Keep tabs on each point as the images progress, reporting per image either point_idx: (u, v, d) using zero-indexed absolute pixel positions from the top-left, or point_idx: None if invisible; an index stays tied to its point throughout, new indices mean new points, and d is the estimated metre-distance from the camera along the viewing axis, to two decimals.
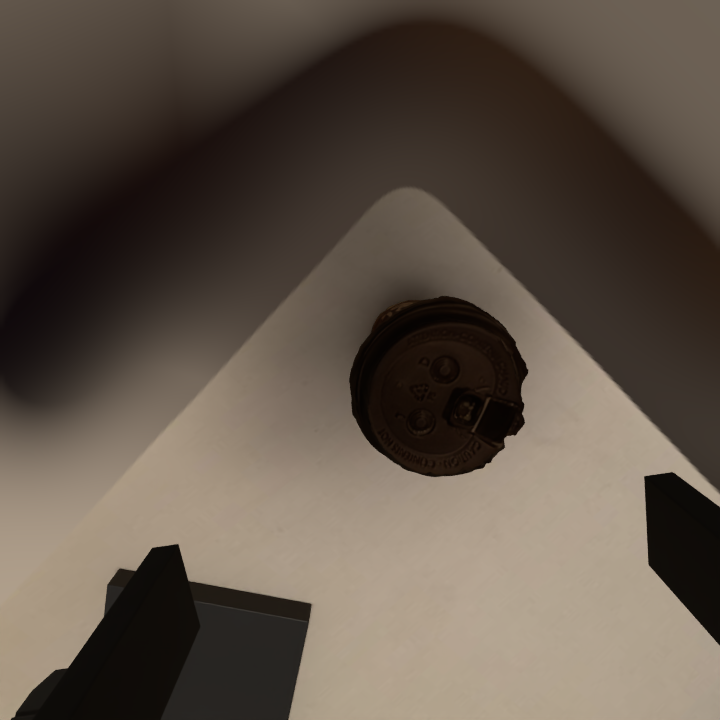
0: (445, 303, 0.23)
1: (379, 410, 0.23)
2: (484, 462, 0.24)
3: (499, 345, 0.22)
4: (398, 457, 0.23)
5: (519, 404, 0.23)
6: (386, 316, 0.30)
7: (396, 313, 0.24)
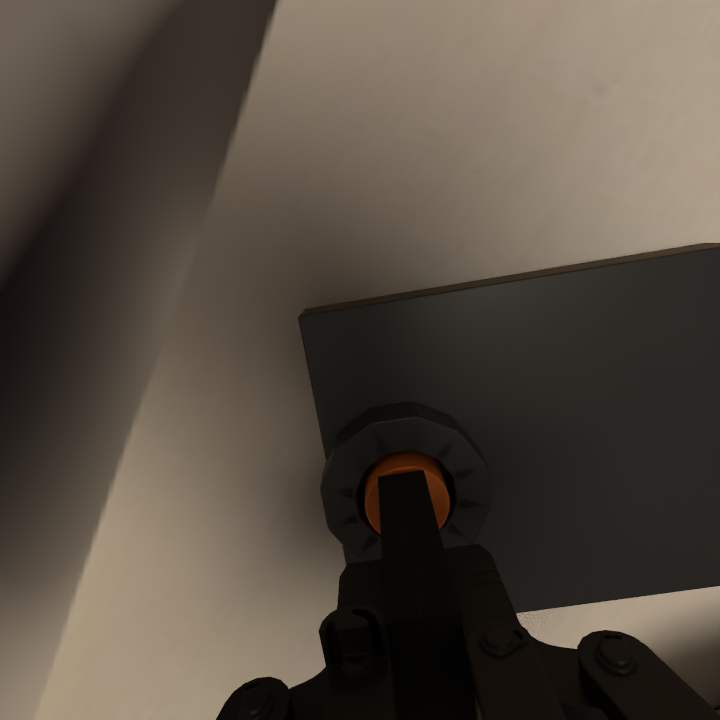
0: None
1: None
2: None
3: None
4: None
5: None
6: None
7: None
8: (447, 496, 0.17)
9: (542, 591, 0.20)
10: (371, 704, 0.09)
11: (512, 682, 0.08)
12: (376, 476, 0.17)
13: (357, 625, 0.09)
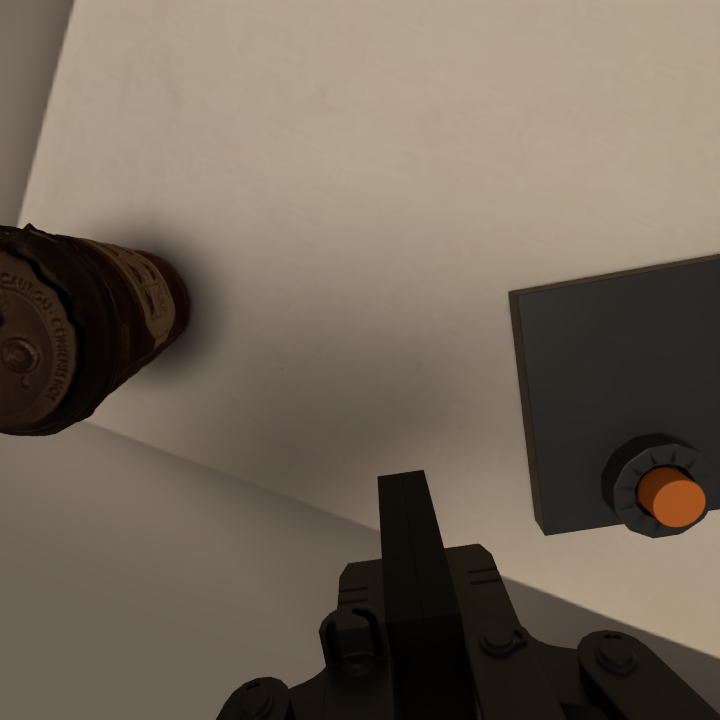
0: None
1: (29, 408, 0.19)
2: (33, 252, 0.18)
3: None
4: (69, 365, 0.18)
5: None
6: None
7: None
8: (676, 481, 0.27)
9: None
10: (371, 704, 0.09)
11: (512, 682, 0.08)
12: (657, 519, 0.28)
13: (357, 625, 0.09)
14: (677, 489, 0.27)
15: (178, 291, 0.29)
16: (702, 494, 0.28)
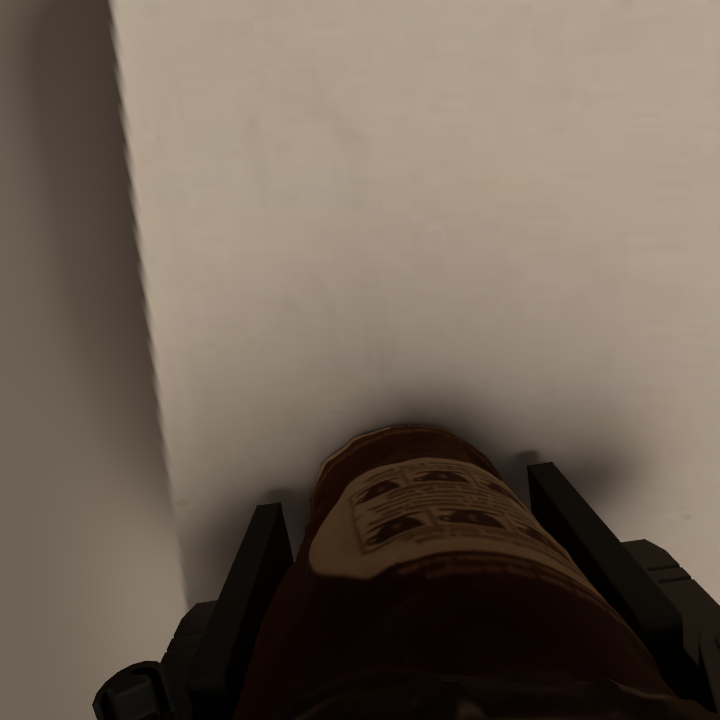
0: None
1: None
2: None
3: None
4: None
5: None
6: None
7: None
8: None
9: None
10: None
11: None
12: None
13: (137, 685, 0.09)
14: None
15: None
16: None
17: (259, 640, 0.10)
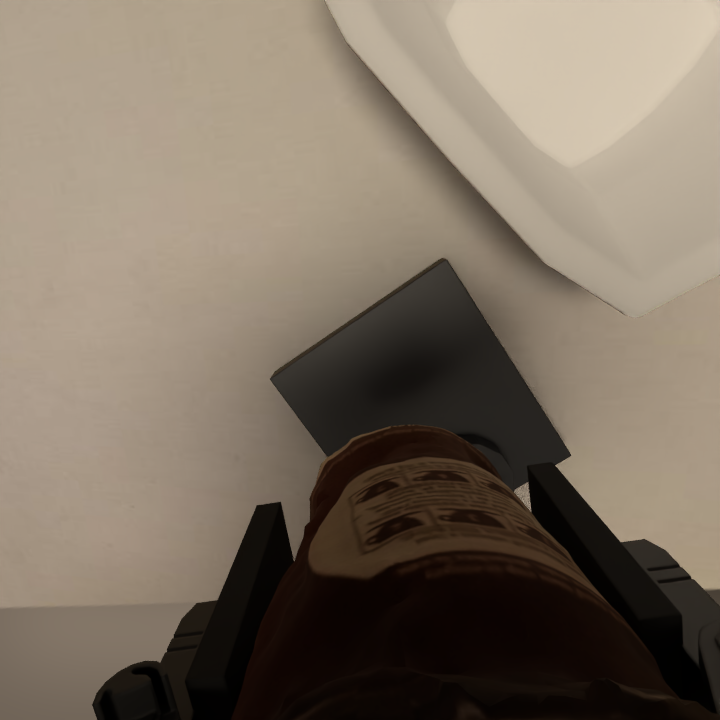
0: None
1: None
2: None
3: None
4: None
5: None
6: None
7: None
8: None
9: (501, 371, 0.32)
10: None
11: None
12: None
13: (137, 685, 0.09)
14: None
15: (487, 472, 0.15)
16: None
17: (258, 640, 0.10)
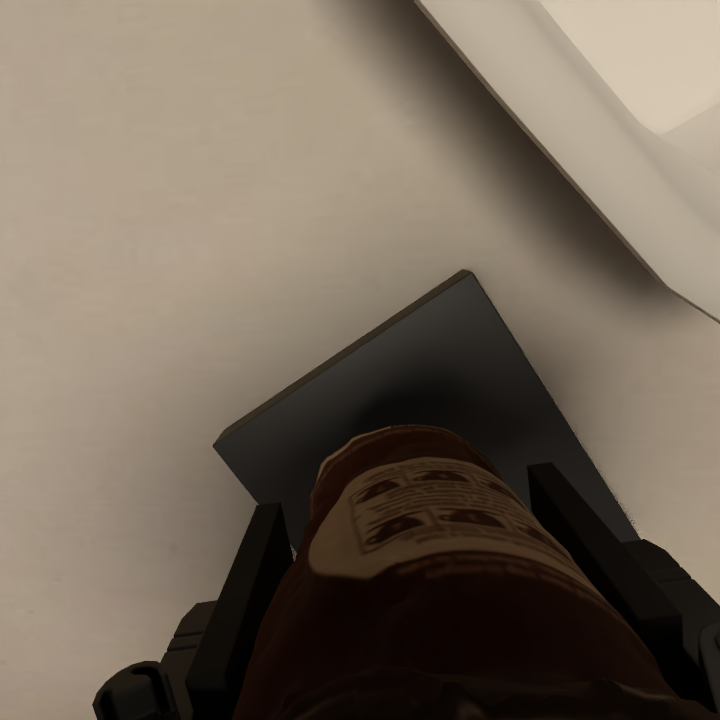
0: None
1: None
2: None
3: None
4: None
5: None
6: None
7: None
8: None
9: (550, 434, 0.22)
10: None
11: None
12: None
13: (137, 685, 0.09)
14: None
15: None
16: None
17: (259, 640, 0.10)
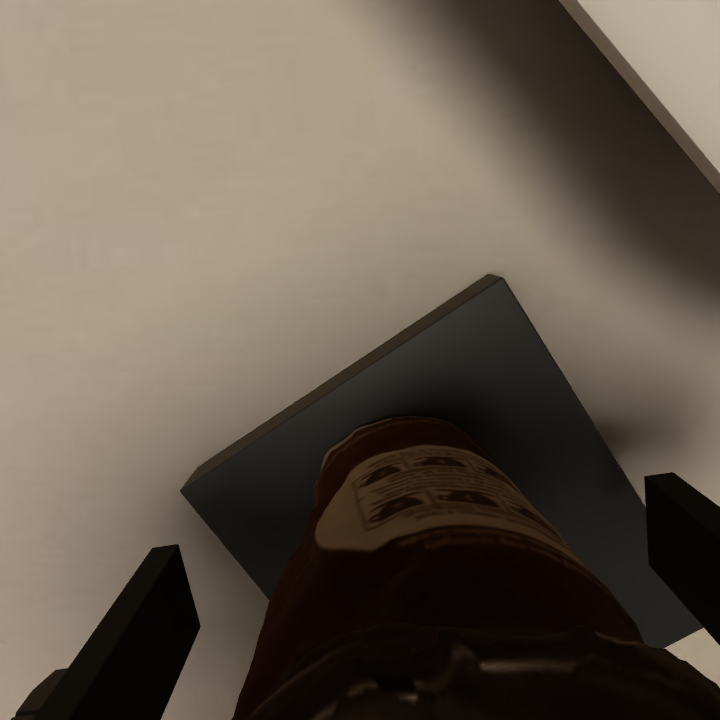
0: None
1: None
2: None
3: None
4: None
5: None
6: None
7: None
8: None
9: (597, 478, 0.17)
10: None
11: None
12: None
13: None
14: None
15: None
16: None
17: (268, 613, 0.11)
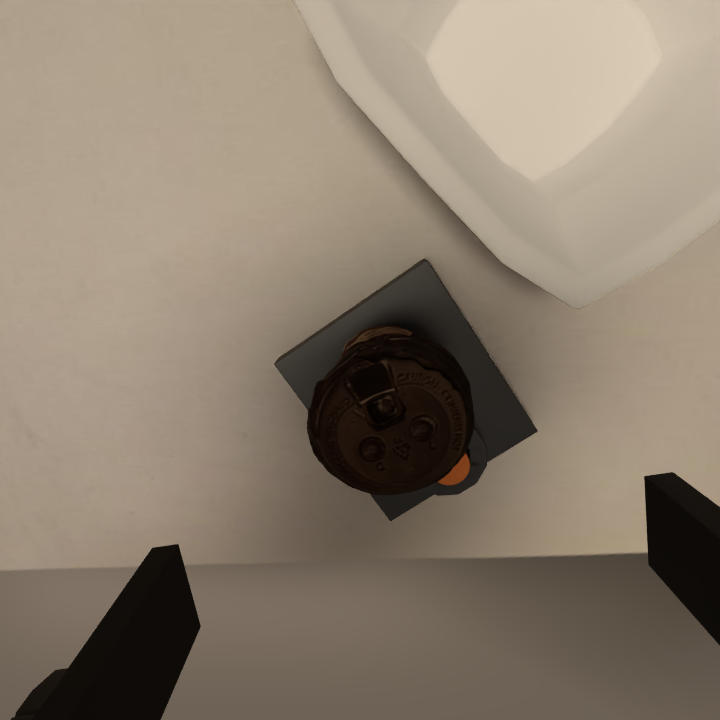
0: (332, 472, 0.26)
1: (441, 463, 0.24)
2: (408, 352, 0.24)
3: (320, 435, 0.24)
4: (463, 420, 0.24)
5: (343, 379, 0.24)
6: None
7: None
8: None
9: (475, 356, 0.36)
10: None
11: None
12: None
13: None
14: None
15: None
16: None
17: None
